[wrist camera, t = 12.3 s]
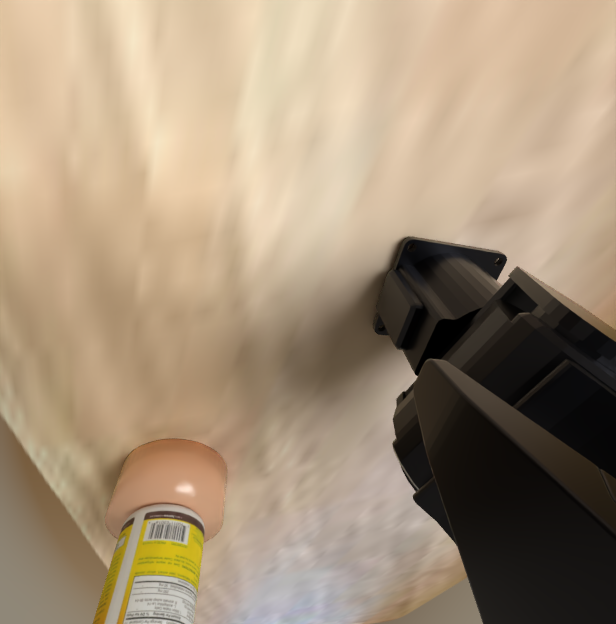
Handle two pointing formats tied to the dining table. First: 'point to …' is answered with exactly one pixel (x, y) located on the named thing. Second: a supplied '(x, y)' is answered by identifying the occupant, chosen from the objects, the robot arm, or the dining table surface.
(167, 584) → the supplement bottle
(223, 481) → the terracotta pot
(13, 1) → the dining table surface
